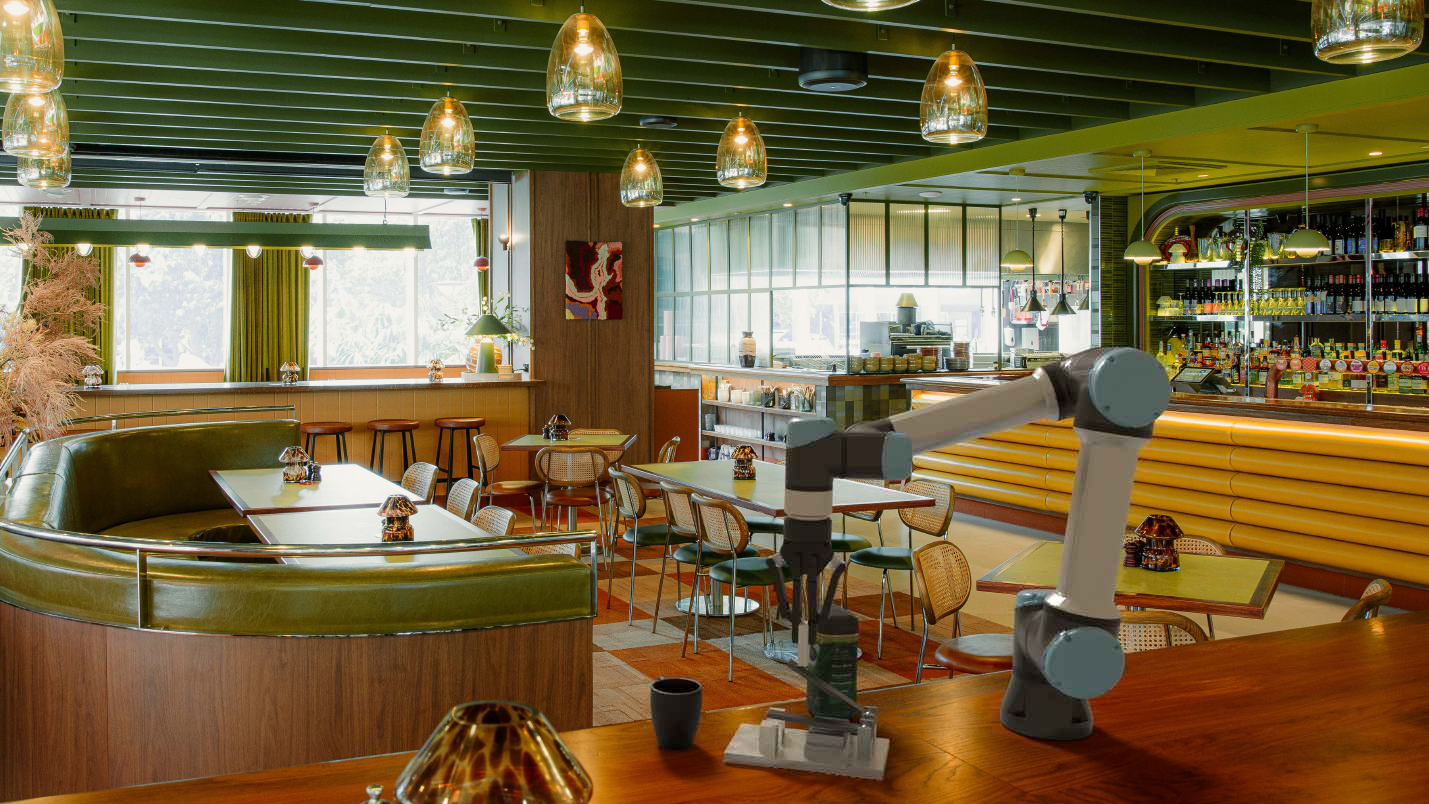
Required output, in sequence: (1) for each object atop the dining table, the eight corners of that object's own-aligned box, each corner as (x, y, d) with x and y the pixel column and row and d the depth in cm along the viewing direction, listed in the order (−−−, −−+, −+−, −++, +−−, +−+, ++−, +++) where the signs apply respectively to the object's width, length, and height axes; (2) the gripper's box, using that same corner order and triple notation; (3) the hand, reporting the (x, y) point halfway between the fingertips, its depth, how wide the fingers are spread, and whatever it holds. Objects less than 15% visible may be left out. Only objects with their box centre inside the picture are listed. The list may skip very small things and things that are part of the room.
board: (889, 748, 173) (890, 705, 173) (882, 780, 160) (883, 734, 160) (741, 732, 179) (742, 690, 178) (723, 762, 166) (724, 717, 166)
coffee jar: (862, 721, 185) (866, 613, 184) (818, 724, 183) (821, 615, 182) (842, 702, 194) (845, 599, 193) (800, 705, 192) (803, 601, 191)
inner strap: (871, 721, 171) (877, 713, 171) (870, 726, 169) (875, 718, 169) (787, 663, 174) (792, 655, 174) (784, 668, 171) (789, 660, 171)
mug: (685, 724, 182) (686, 668, 181) (708, 751, 170) (709, 691, 170) (637, 729, 179) (638, 672, 178) (657, 756, 168) (658, 696, 167)
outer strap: (871, 733, 165) (872, 723, 165) (869, 739, 163) (870, 728, 163) (768, 715, 169) (770, 705, 169) (766, 720, 166) (767, 710, 166)
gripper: (852, 514, 173) (847, 660, 174) (771, 509, 176) (767, 653, 177) (846, 522, 165) (841, 674, 167) (762, 516, 168) (758, 666, 170)
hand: (803, 663), depth 172 cm, fingers closed
